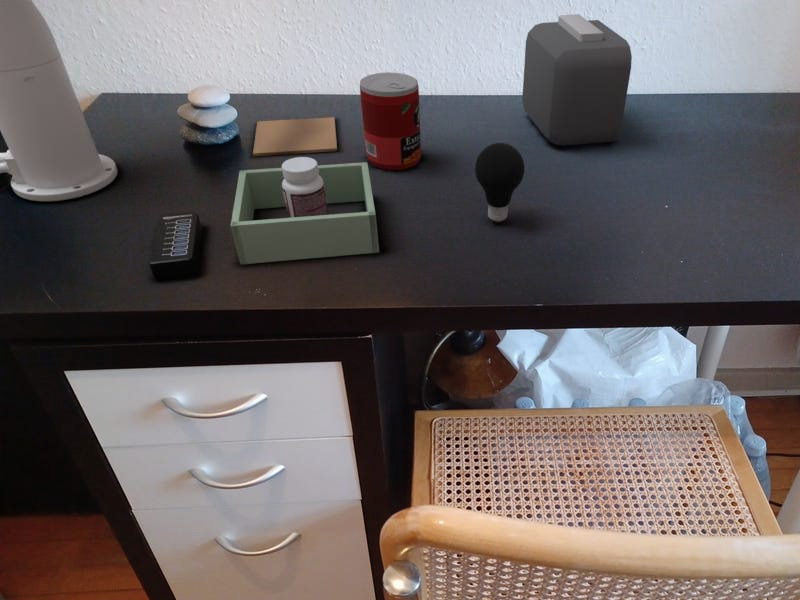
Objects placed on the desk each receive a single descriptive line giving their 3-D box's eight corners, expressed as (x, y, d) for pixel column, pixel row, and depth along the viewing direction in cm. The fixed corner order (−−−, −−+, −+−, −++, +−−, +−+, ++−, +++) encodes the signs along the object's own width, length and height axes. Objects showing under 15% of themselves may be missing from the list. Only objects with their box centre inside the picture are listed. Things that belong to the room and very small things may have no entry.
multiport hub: (154, 281, 72) (147, 263, 70) (163, 230, 79) (158, 213, 78) (197, 276, 72) (191, 258, 71) (202, 226, 80) (197, 209, 79)
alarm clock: (618, 147, 100) (636, 37, 90) (547, 153, 98) (557, 42, 88) (580, 107, 112) (592, 7, 102) (516, 112, 110) (522, 10, 100)
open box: (240, 264, 74) (230, 225, 71) (248, 206, 84) (239, 170, 81) (379, 252, 77) (375, 214, 73) (370, 197, 87) (367, 161, 83)
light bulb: (497, 205, 86) (500, 130, 79) (530, 222, 83) (536, 146, 76) (464, 221, 83) (465, 144, 76) (497, 239, 80) (501, 160, 73)
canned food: (413, 173, 92) (409, 94, 85) (359, 167, 93) (350, 88, 86) (427, 151, 98) (425, 74, 91) (376, 145, 99) (369, 69, 92)
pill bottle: (338, 226, 81) (329, 161, 76) (311, 242, 78) (300, 176, 73) (309, 215, 83) (299, 151, 77) (282, 231, 80) (269, 166, 74)
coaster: (253, 156, 95) (252, 153, 95) (257, 124, 104) (257, 121, 104) (337, 151, 97) (337, 148, 97) (334, 120, 106) (334, 117, 106)
